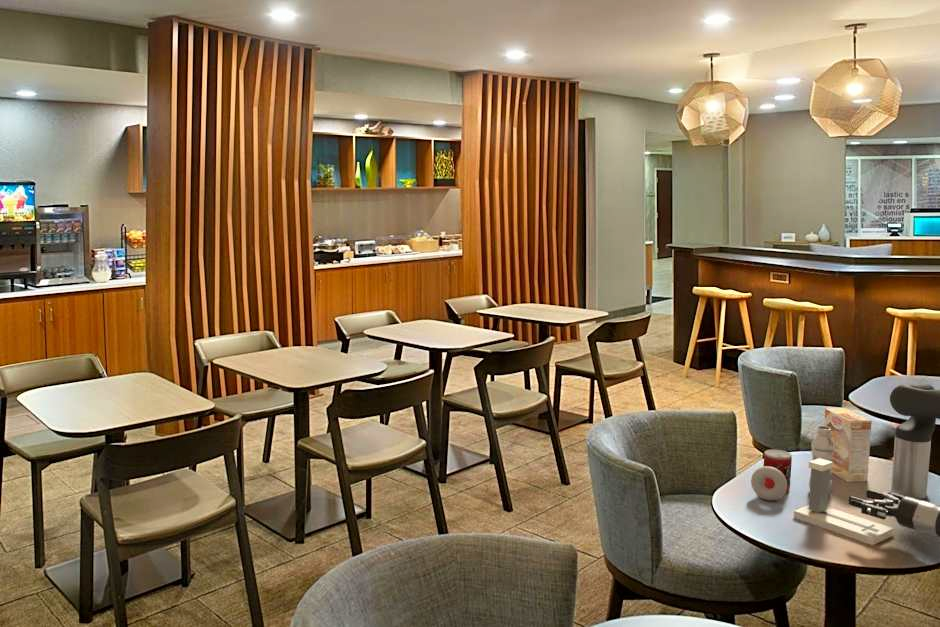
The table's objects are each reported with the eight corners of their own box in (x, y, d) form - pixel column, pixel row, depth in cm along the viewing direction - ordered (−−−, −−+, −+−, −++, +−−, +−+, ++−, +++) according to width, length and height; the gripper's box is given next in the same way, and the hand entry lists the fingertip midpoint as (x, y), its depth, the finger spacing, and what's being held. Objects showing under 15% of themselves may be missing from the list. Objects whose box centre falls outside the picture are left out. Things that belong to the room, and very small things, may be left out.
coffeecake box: (820, 466, 264) (824, 408, 262) (841, 465, 265) (845, 407, 262) (846, 482, 250) (850, 420, 247) (868, 481, 250) (872, 420, 248)
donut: (787, 501, 234) (789, 468, 233) (784, 505, 231) (786, 471, 230) (751, 494, 240) (753, 462, 238) (748, 498, 237) (750, 465, 235)
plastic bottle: (827, 489, 244) (831, 424, 241) (835, 497, 237) (839, 431, 234) (805, 488, 244) (809, 424, 241) (812, 497, 238) (816, 430, 235)
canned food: (777, 495, 239) (779, 459, 238) (756, 486, 246) (758, 451, 245) (795, 490, 243) (797, 455, 241) (774, 482, 250) (776, 447, 248)
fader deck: (814, 509, 228) (814, 502, 228) (892, 535, 211) (893, 527, 210) (793, 517, 222) (794, 510, 222) (872, 545, 205) (873, 537, 205)
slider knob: (816, 505, 225) (819, 458, 223) (829, 509, 222) (833, 461, 220) (806, 509, 222) (808, 461, 220) (819, 514, 219) (822, 465, 217)
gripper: (937, 495, 203) (873, 477, 216) (909, 508, 194) (844, 488, 207) (935, 523, 204) (871, 504, 217) (906, 537, 195) (842, 516, 208)
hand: (858, 496), depth 212 cm, fingers open, 8 cm apart
